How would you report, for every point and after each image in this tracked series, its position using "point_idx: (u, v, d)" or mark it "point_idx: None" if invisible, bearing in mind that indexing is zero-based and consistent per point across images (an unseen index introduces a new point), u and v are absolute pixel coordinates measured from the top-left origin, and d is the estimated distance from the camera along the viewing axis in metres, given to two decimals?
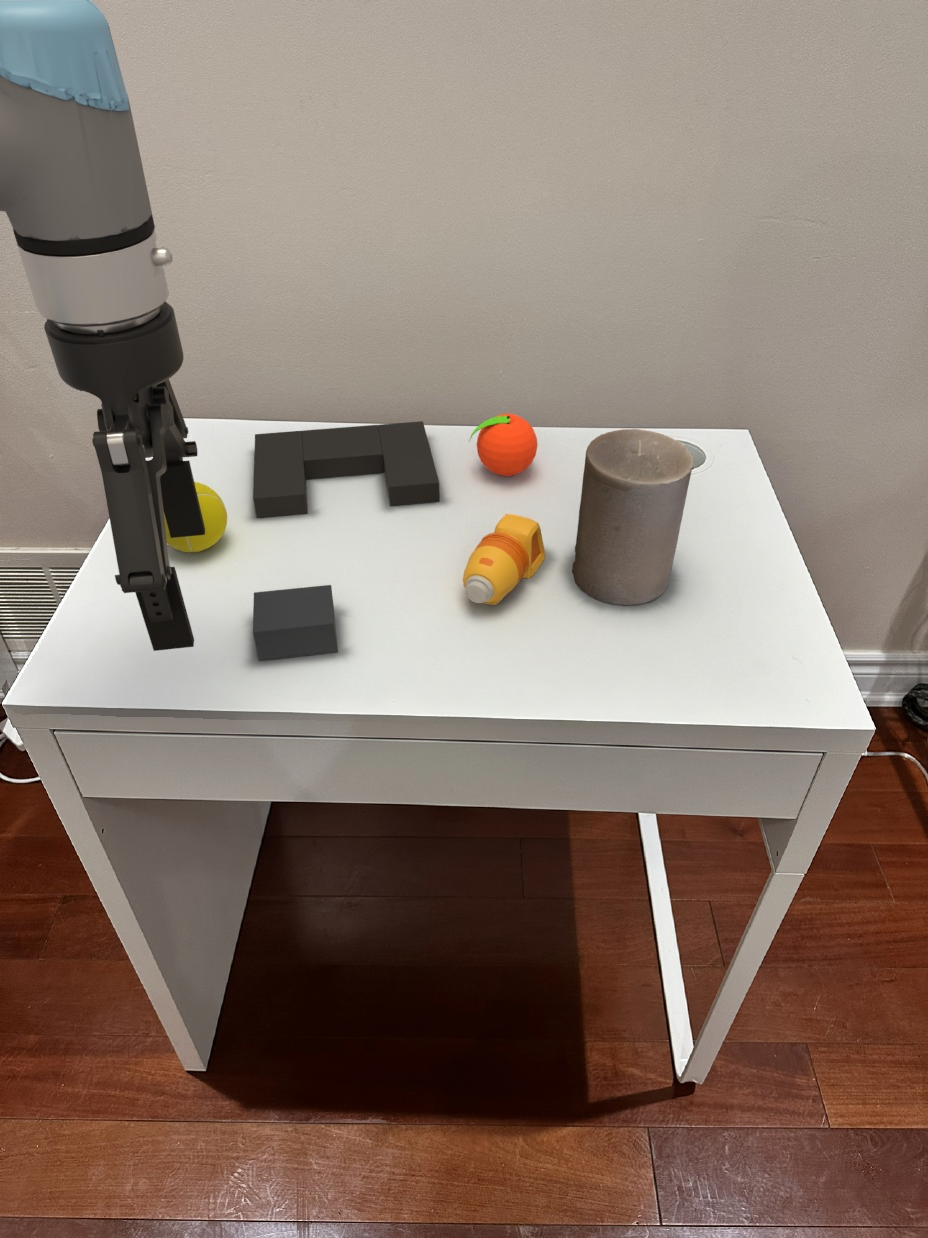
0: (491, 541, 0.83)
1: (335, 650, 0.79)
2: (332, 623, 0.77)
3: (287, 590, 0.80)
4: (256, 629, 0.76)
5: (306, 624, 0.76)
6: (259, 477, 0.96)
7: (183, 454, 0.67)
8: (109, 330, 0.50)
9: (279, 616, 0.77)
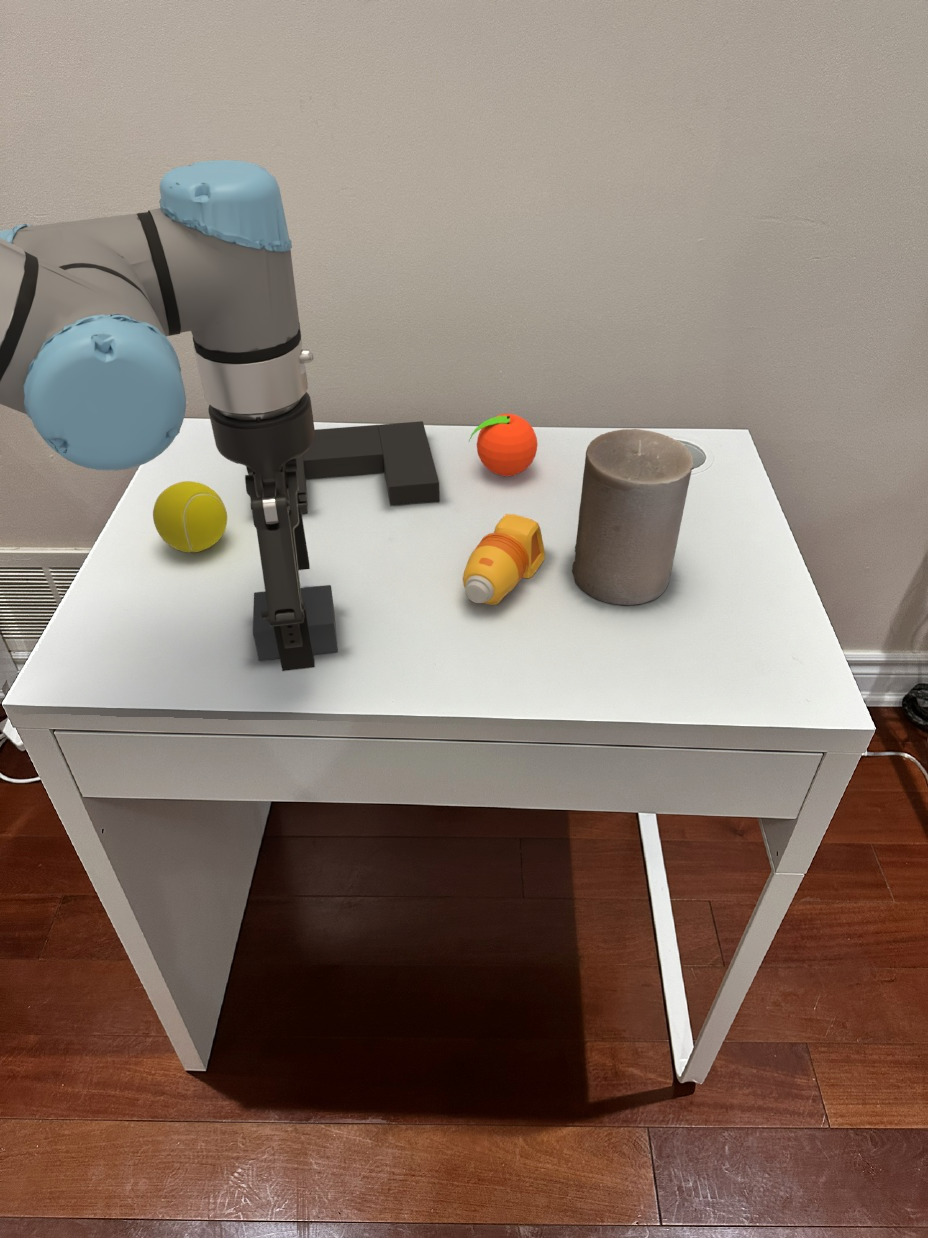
0: (491, 541, 0.83)
1: (335, 650, 0.79)
2: (332, 623, 0.77)
3: None
4: (256, 629, 0.76)
5: None
6: None
7: (296, 503, 0.79)
8: (265, 417, 0.63)
9: None
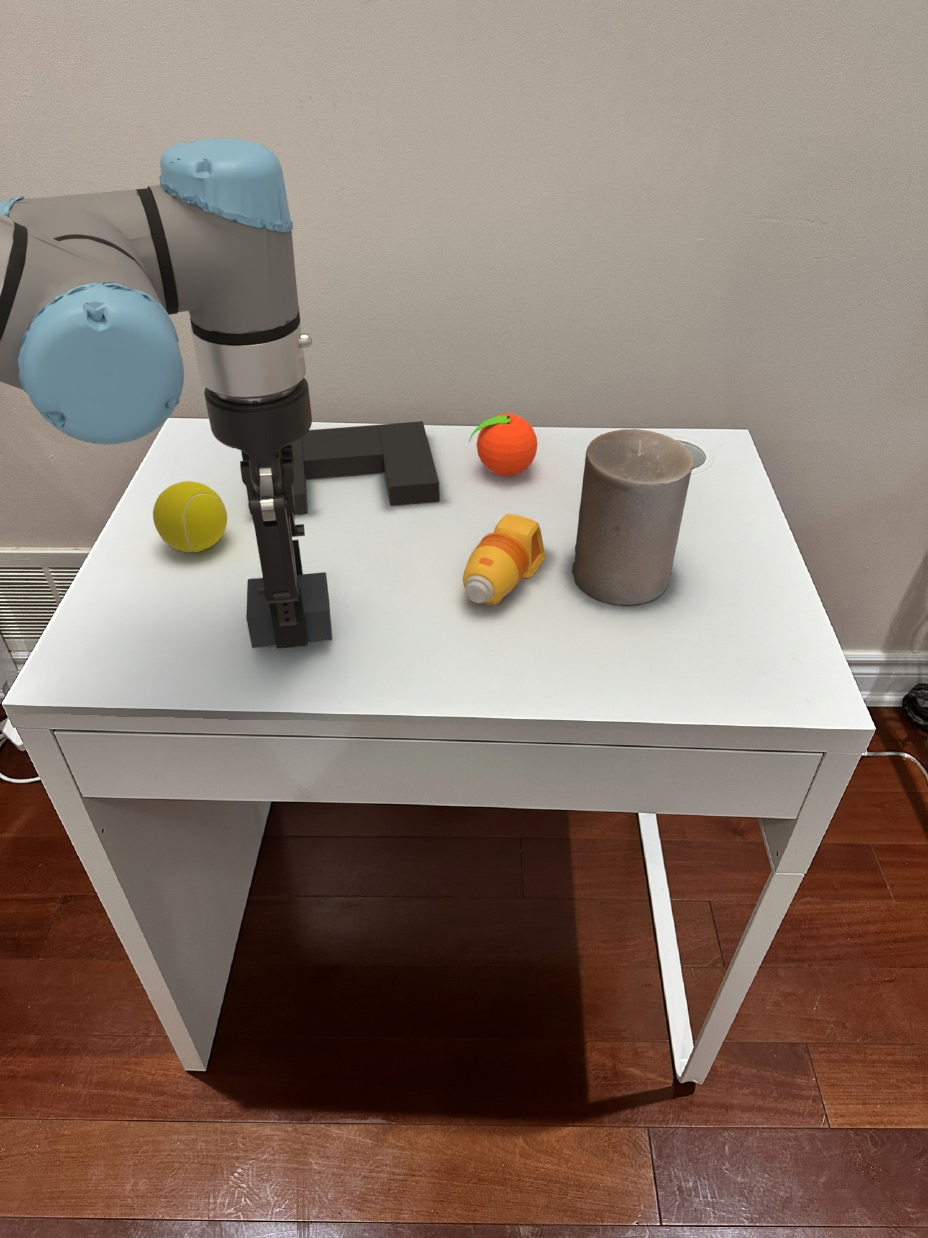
0: (491, 541, 0.83)
1: (330, 638, 0.78)
2: (327, 610, 0.76)
3: None
4: (250, 616, 0.75)
5: None
6: None
7: (293, 531, 0.77)
8: (262, 401, 0.62)
9: None
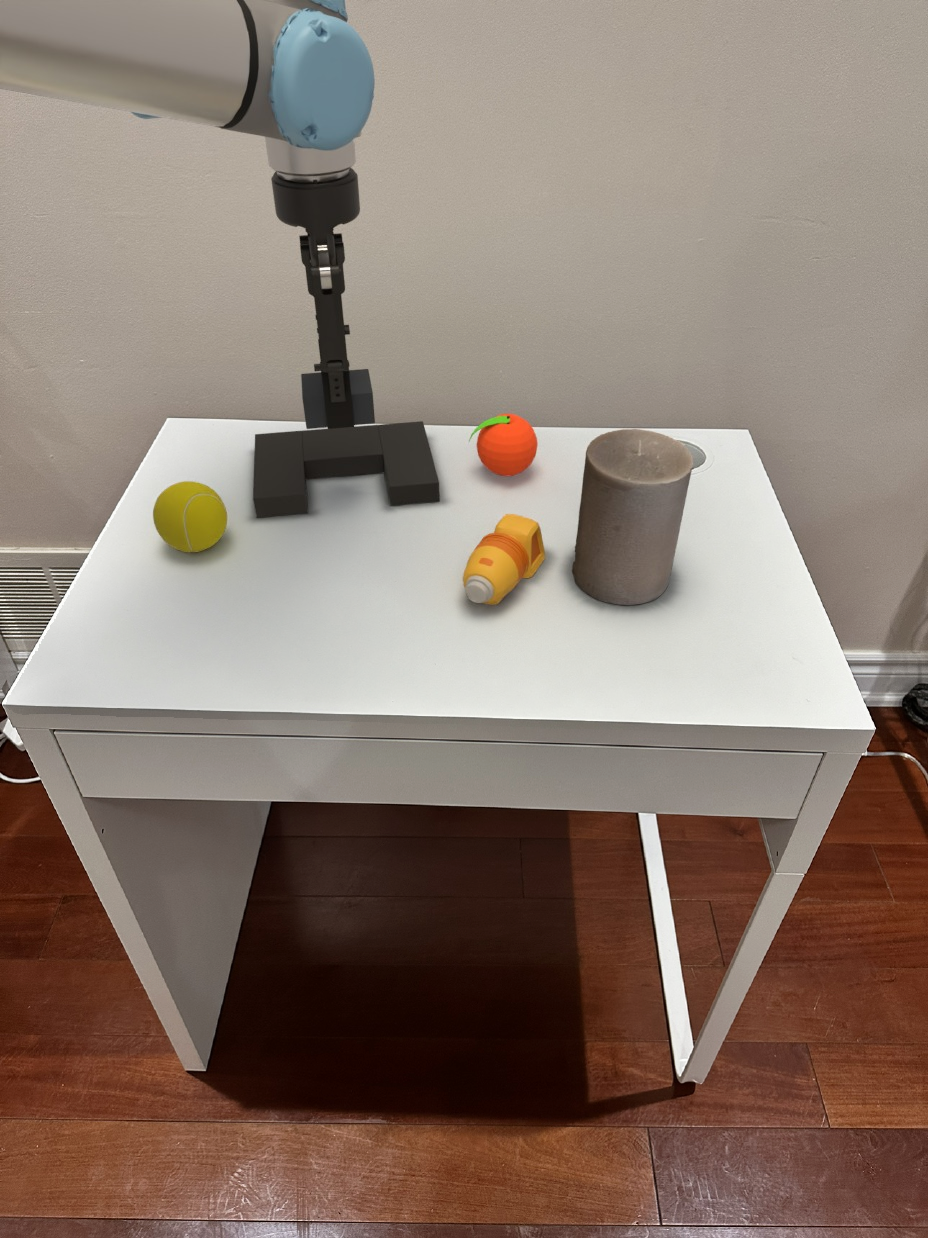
0: (491, 541, 0.83)
1: (373, 421, 0.90)
2: (371, 392, 0.88)
3: None
4: (305, 396, 0.87)
5: None
6: (259, 477, 0.96)
7: None
8: (321, 180, 0.74)
9: None
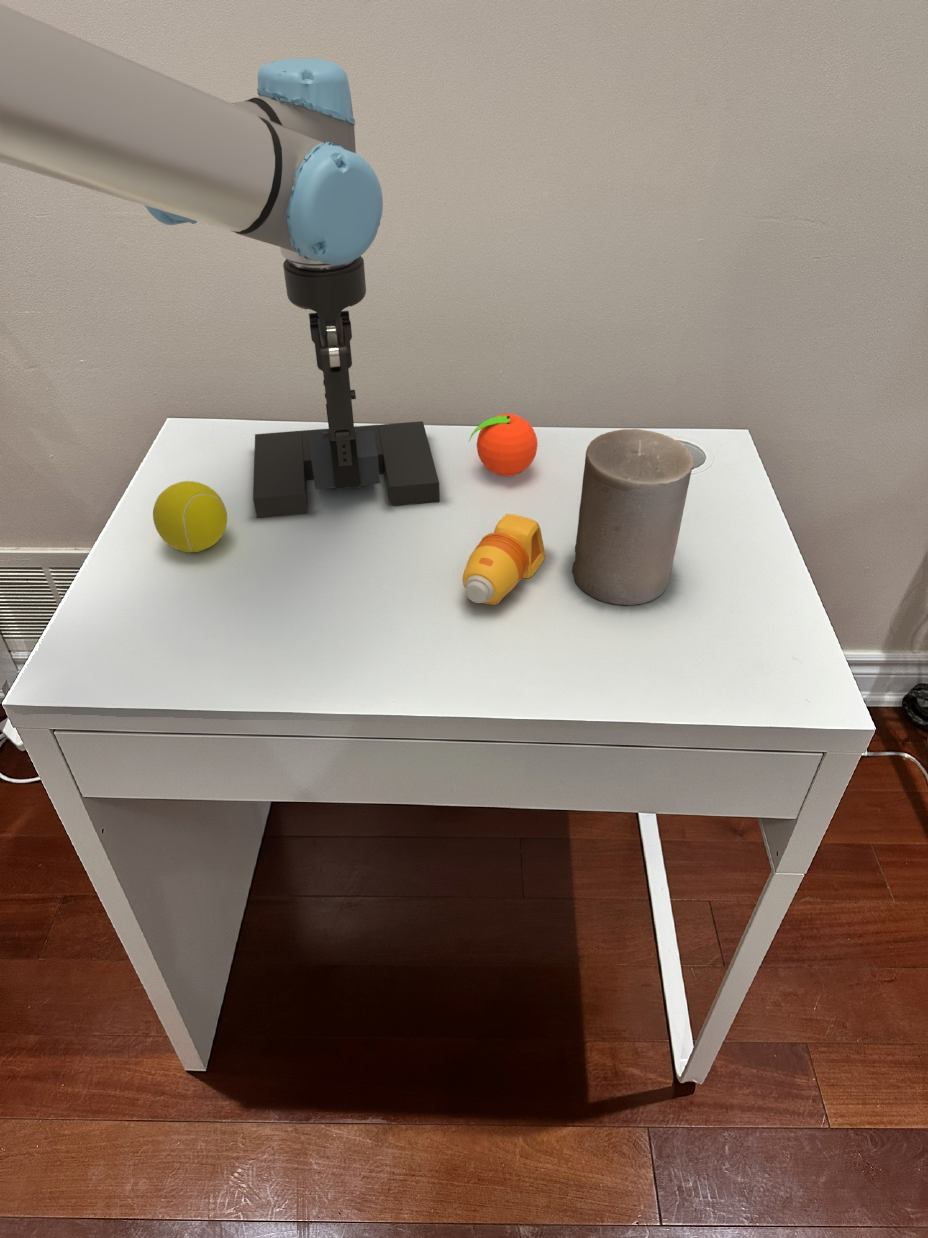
0: (491, 541, 0.83)
1: (378, 481, 0.95)
2: (376, 455, 0.93)
3: None
4: (314, 459, 0.93)
5: None
6: (259, 477, 0.96)
7: None
8: (330, 268, 0.80)
9: None
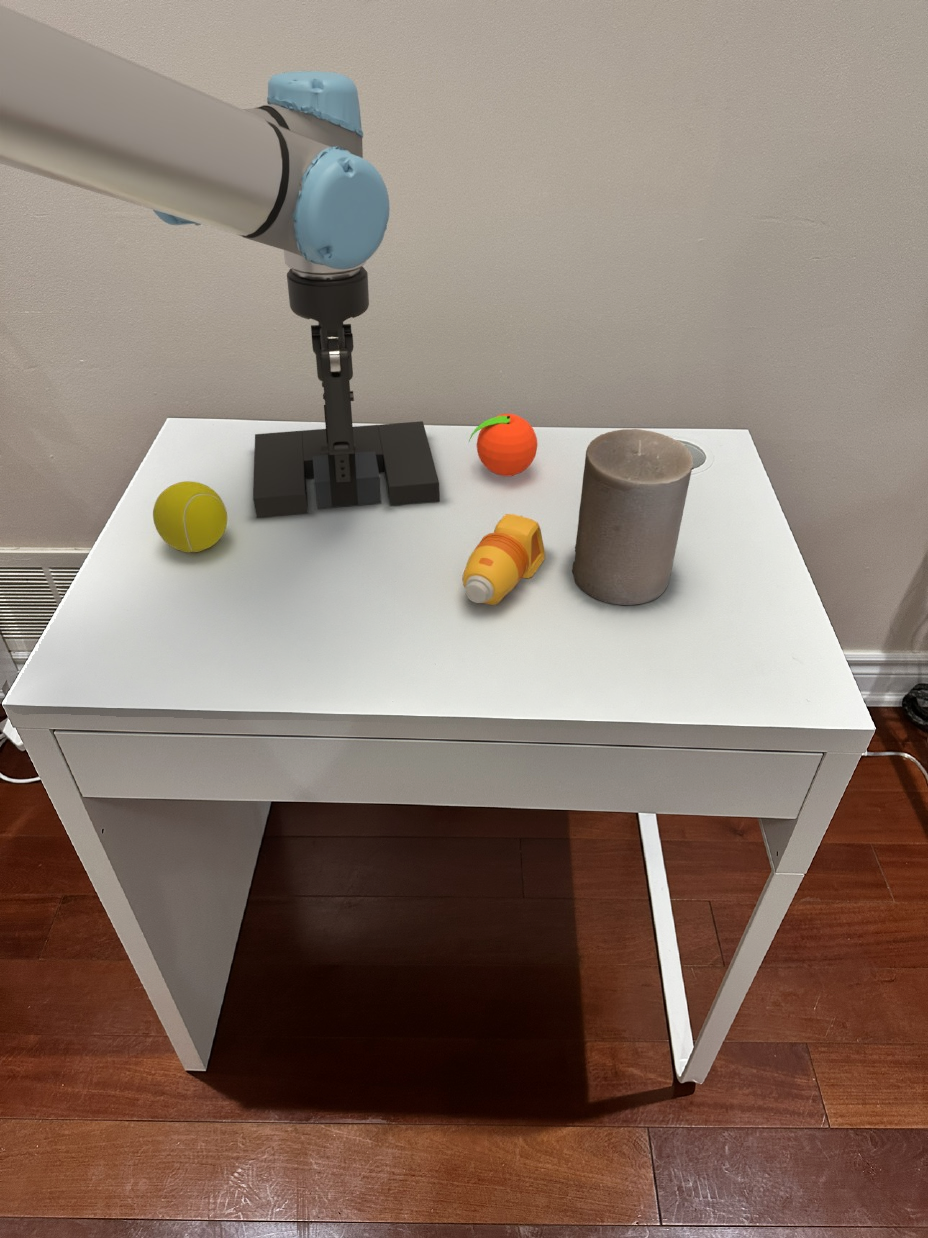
0: (491, 541, 0.83)
1: (379, 501, 0.97)
2: (378, 476, 0.95)
3: None
4: (317, 480, 0.94)
5: (357, 477, 0.95)
6: (259, 477, 0.96)
7: None
8: (333, 278, 0.79)
9: None
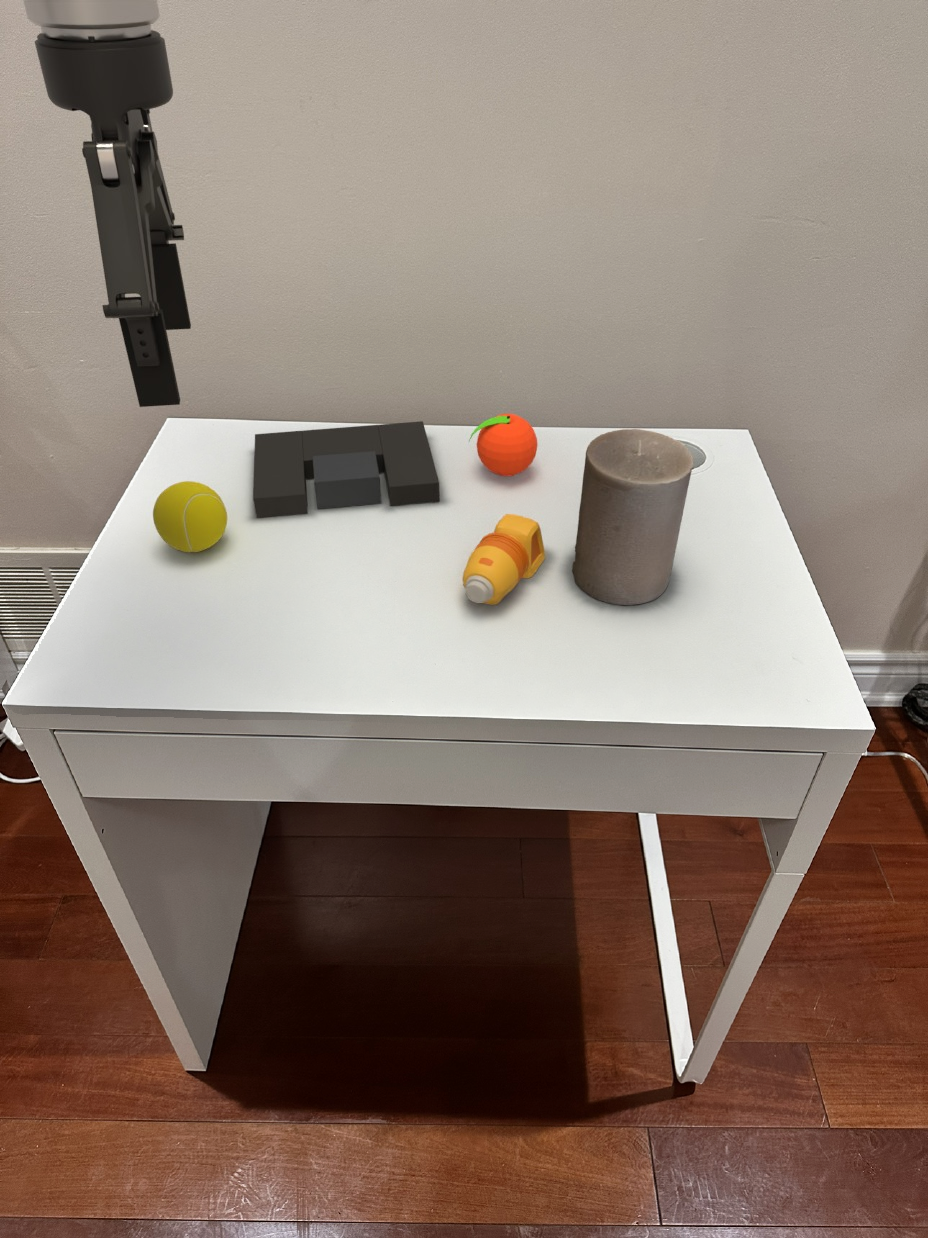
0: (491, 541, 0.83)
1: (379, 501, 0.97)
2: (378, 476, 0.95)
3: (339, 454, 0.98)
4: (317, 480, 0.94)
5: (357, 477, 0.95)
6: (259, 477, 0.96)
7: (170, 235, 0.68)
8: (100, 37, 0.51)
9: (335, 472, 0.95)
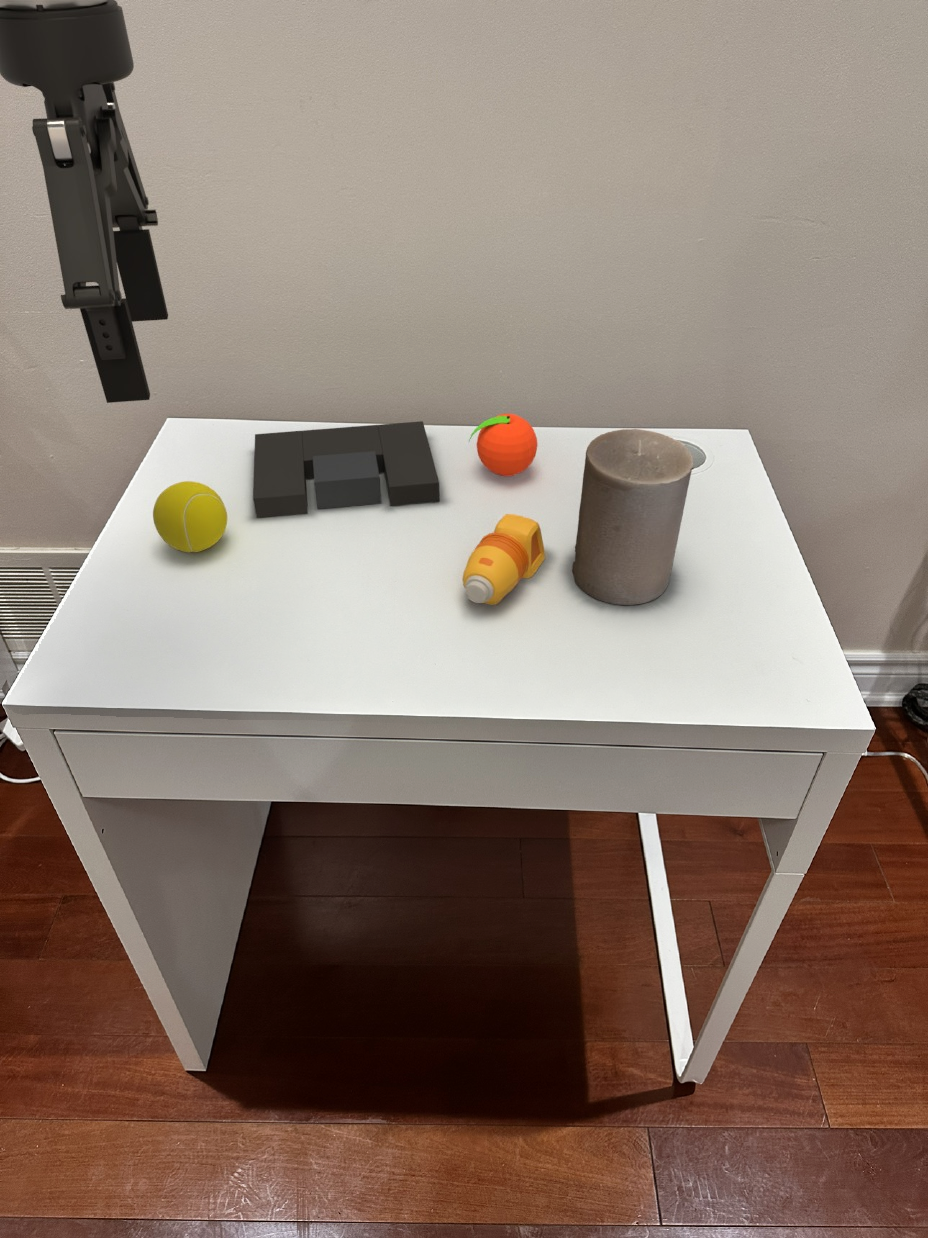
0: (491, 541, 0.83)
1: (379, 501, 0.97)
2: (378, 476, 0.95)
3: (339, 454, 0.98)
4: (317, 480, 0.94)
5: (357, 477, 0.95)
6: (259, 477, 0.96)
7: (142, 220, 0.64)
8: (49, 5, 0.47)
9: (335, 472, 0.95)
